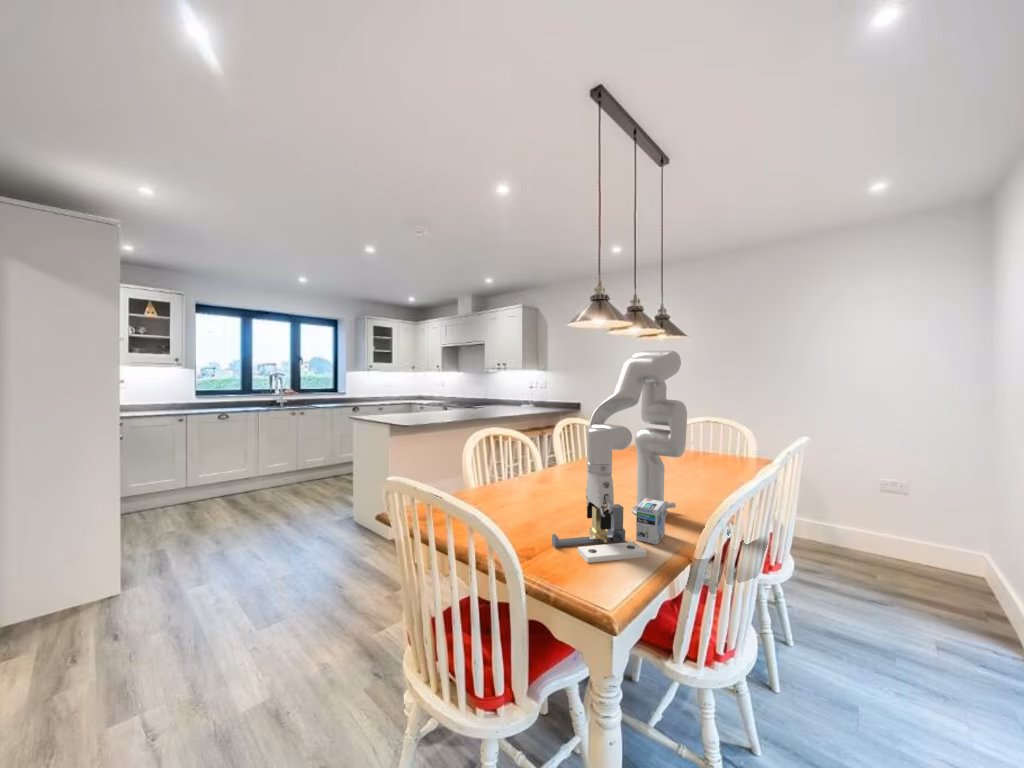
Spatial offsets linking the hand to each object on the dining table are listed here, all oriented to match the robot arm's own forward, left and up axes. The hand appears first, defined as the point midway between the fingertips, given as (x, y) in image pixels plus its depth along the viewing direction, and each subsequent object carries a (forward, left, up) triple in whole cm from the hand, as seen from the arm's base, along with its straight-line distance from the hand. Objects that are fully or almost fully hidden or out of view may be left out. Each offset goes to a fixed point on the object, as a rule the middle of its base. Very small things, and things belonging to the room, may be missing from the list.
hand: (598, 523), depth 131 cm
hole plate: (0, +9, -6) cm, 11 cm away
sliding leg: (0, +1, -4) cm, 4 cm away
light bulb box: (-18, 0, -6) cm, 19 cm away
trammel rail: (+3, +1, -6) cm, 7 cm away
